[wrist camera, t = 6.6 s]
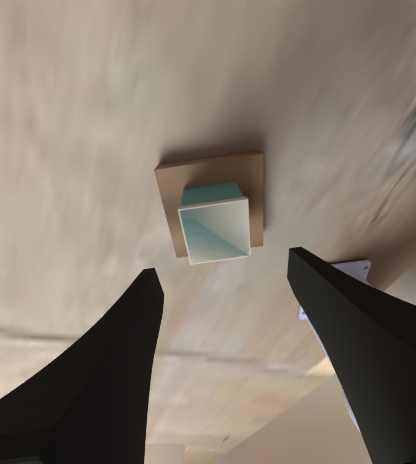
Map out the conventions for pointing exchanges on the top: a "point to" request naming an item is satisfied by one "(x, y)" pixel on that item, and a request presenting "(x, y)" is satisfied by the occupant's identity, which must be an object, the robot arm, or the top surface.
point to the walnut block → (209, 173)
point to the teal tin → (215, 222)
